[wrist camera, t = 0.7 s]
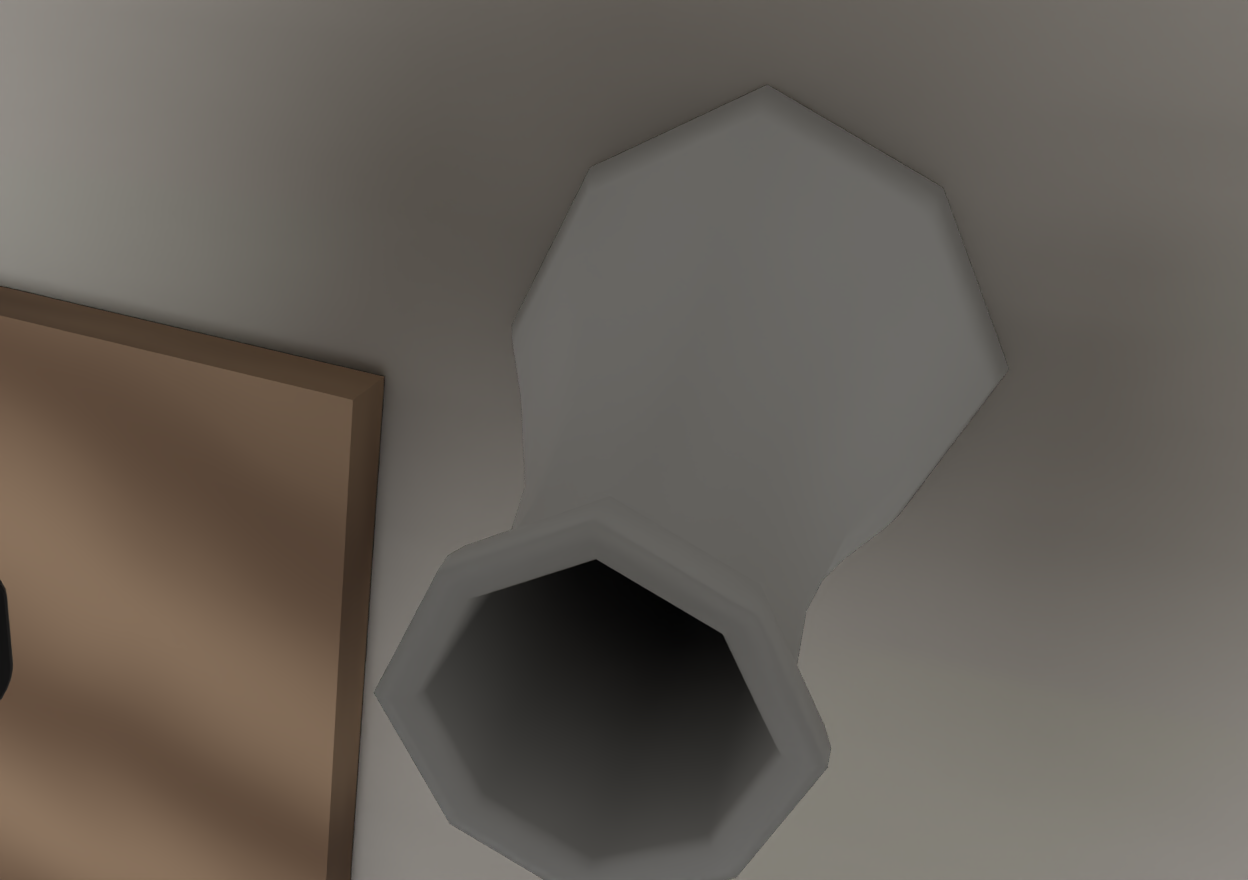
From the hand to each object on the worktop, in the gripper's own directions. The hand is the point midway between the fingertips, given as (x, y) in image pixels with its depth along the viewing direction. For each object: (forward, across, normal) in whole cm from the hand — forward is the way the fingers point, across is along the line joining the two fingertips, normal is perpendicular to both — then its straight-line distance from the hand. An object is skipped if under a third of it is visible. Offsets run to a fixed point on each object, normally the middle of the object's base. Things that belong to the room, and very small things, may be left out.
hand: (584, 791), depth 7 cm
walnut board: (+10, +12, +11) cm, 19 cm away
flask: (+11, 0, 0) cm, 11 cm away
